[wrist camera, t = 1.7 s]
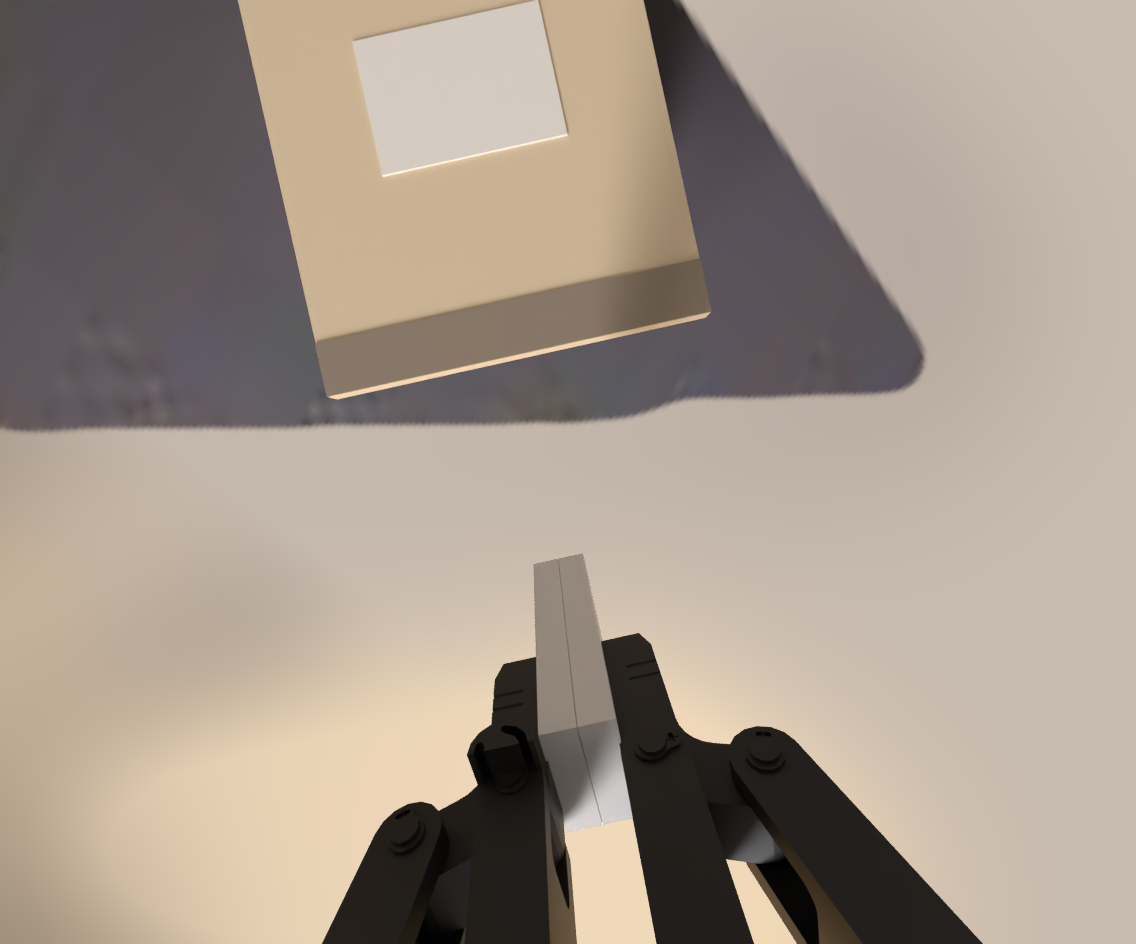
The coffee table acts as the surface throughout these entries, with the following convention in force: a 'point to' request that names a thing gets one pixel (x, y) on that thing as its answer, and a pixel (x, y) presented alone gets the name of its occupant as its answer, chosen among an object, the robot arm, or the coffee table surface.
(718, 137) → the coffee table surface
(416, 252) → the carton lid
